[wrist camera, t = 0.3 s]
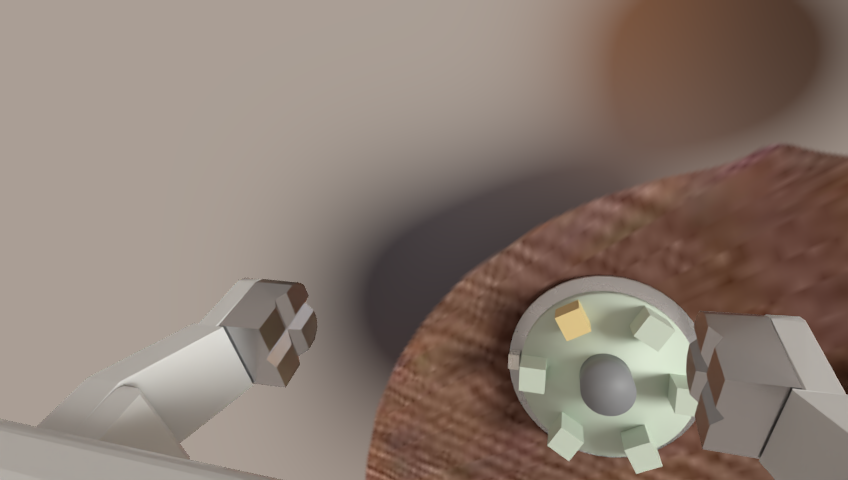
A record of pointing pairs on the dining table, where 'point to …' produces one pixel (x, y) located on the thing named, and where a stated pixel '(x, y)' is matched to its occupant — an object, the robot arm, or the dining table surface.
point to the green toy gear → (607, 377)
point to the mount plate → (589, 285)
